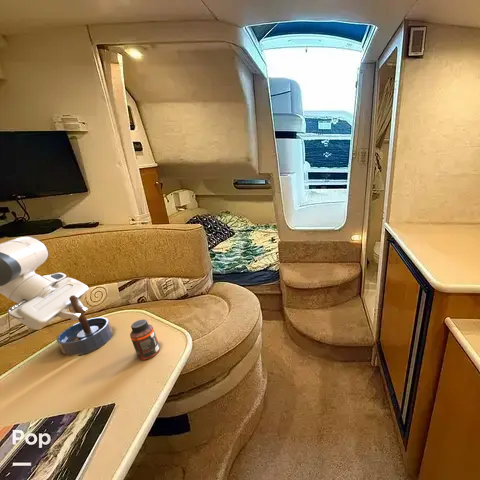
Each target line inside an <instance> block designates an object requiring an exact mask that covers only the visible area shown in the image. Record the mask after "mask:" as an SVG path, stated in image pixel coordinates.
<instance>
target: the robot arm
mask: <svg viewBox="0 0 480 480" xmlns="http://www.w3.org/2000/svg"><path fill="white" fill-rule="evenodd" d="M49 255H50V253H49V249H48V247H47V245H46V244H45V243H44V242H43V241H41V240H39V239H38V238H35V237H33V236H20V237H17V238H13V239H10V240H6V241H4V242H1V243H0V294H1V295H2V296H3V297H4V296H5V297H6V298H7V299H8V300H9V301H12V302H14V303H15V304H13V305H11V306H10V307H8V310H7V314H8V316H9V317H10V318H13V319H15V320H16V321H18V322H19V323H21V324H22V325H24V326H26V327H28V328H30V329H32V330H37V331H38V330H42V329H43V328H44V327H46V326H47V325H48V324H50V323H51V322H52V321H53V320H55V319H56V318H60V319H70V320H73V321H78V319H79V318H80V316H81V314H80V313H78V312H75V311H74V312H71V311H68V309H70V308H73V306H72V304H71V302H70V300H69V298H70V297H71V296H73V295H75V296H77V298H78V301H79V303H80V305H81V307H82V310H83V312H84V314H86V313H87V312H88V311H89V308H88V307H86V306H84V304H83V302H82V301H81V299H82V298H83V297H85V295H87V293H88V292H89V291H90V288H89V286H88V285H87V284H85V283H84V282H82V281H80V280H78V279H75V278H73V277H67V275H66V274H65V273H63V272H55V273H51V274H46V275H40V274H38V273H36V270H37V269H38V268H40V267H41V266H42V265H43V264H44V263H45V262H46V261H47V260H48V258H49Z"/></svg>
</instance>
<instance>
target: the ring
mask: <svg viewBox="0 0 480 480" xmlns="http://www.w3.org/2000/svg"><path fill="white" fill-rule="evenodd" d="M86 319H87V321H88V324H89V326H90V327H91V326H98V327H99V331H98V332H96V333H95V334H93V335H91V336H89V337H86V338H84V339H81V340H78V338H77V334H78V333H79V332H80V331H81V330H83V329H82V327H81V324H80V322H79V321H78V322H76V323H74V324H73V325H71V326H69V327H67V328H66V329H64V330H63V331H61V332H60V333H59V334H58V336H57V337H56V342H57V344H58V345H57V346H58V347H59V349H60V351H61V353H62V354H64V355H66V356H74V355H77V357H80V356H85V355H87V354H89V353H92V352H94V351H96V350H98V349H100V348H101V347H103V346H104V345H106V344H107V343H108V342H109V340H111V338H112V337H113V336H114V333H113V328H112V325H111V322H110V320H109V319H108V318H107V317H104V316H97V317H92V318H86ZM76 339H77V340H76Z"/></svg>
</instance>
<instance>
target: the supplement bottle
mask: <svg viewBox="0 0 480 480" xmlns="http://www.w3.org/2000/svg"><path fill="white" fill-rule="evenodd" d="M130 328H131V331H130V334H129V337H130V340H131V342H132V346H133V348H134V351H135V353H136V356H137V358H138V359H139V360H141V361H146V360H149V359H152V358H153V357H155V356H156V355H157V354H158V353H159V352H160V350H161V347H160V344H159V341H158V338H157V335H156V332H155V329H154V326H153V325H152V324H149V323H148V321H147V320H146V319H144V318H143V319H138V320H136V321H134V322H133V323H131V325H130Z"/></svg>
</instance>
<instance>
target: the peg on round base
mask: <svg viewBox="0 0 480 480" xmlns="http://www.w3.org/2000/svg"><path fill="white" fill-rule="evenodd" d="M69 300H70V302H71V304H72V306H73V307H72V308H73V311H74V313H75V312H78V313H80V314H81V316H80V318H79V319H77V321H78V323H79V322H80V324H81V327H82V329H83V330H81V331H80V332H79V333H78V334H77V338H76V339H77V341H78V340H81V339H84V338H86V337H89V336H91V335H93V334H95V333H96V332H98V331H99V330H100V329H99V327H98V326H91V327H90V326H89V324H88V321H87V319H88V318H87V317H86V313H84V312H83V310H82V307H81V305H80V303H79V301H80V300H79V301H78V298H77V296H75V295H73V296H71V297H70V298H69Z"/></svg>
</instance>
